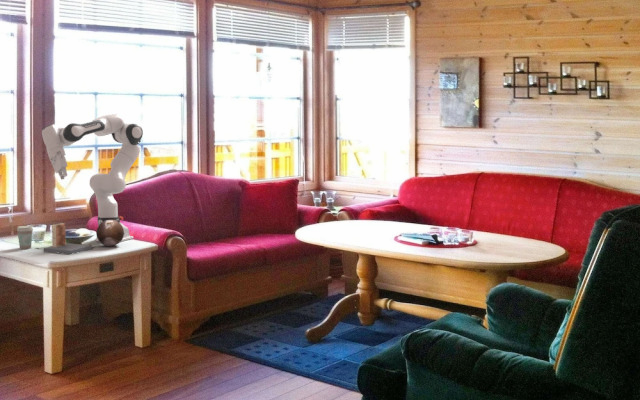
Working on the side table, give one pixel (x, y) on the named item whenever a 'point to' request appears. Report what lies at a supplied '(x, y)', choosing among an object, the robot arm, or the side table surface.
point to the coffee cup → (25, 236)
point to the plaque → (58, 235)
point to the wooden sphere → (110, 232)
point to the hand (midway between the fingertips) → (64, 177)
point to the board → (68, 248)
